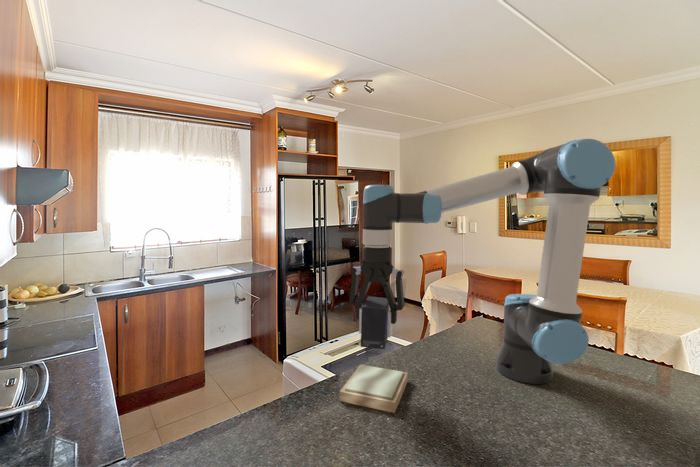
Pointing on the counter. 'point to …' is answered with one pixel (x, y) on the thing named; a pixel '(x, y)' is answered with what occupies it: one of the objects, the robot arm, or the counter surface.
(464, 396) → the counter surface
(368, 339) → the small box
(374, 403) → the stand
